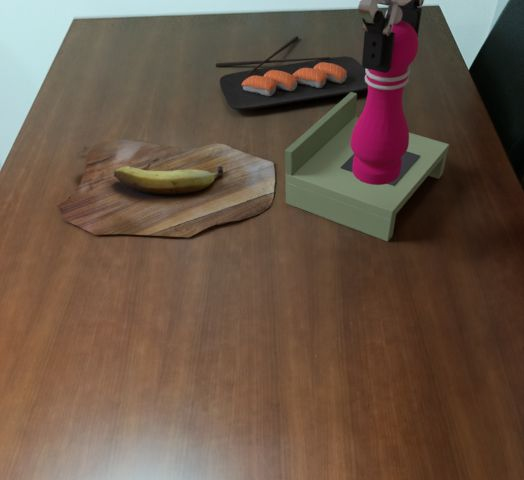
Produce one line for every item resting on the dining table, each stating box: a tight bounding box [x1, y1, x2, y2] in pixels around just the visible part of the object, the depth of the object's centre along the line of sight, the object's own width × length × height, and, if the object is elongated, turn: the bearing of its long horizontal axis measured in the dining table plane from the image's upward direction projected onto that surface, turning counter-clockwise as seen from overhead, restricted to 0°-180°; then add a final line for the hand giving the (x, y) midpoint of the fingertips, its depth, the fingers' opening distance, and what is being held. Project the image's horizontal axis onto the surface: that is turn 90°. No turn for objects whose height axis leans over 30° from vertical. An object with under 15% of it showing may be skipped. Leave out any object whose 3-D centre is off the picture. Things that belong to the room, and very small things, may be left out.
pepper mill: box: [351, 7, 419, 185], centre depth 69 cm, size 7×7×20 cm
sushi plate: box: [215, 35, 368, 111], centre depth 119 cm, size 29×30×4 cm
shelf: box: [284, 92, 450, 242], centre depth 91 cm, size 18×20×10 cm
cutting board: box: [55, 138, 276, 238], centre depth 96 cm, size 35×27×4 cm
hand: (389, 55), depth 65 cm, fingers closed on pepper mill, 6 cm apart
